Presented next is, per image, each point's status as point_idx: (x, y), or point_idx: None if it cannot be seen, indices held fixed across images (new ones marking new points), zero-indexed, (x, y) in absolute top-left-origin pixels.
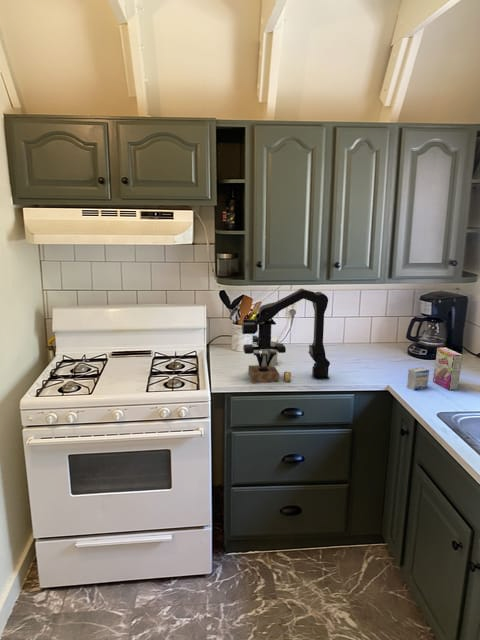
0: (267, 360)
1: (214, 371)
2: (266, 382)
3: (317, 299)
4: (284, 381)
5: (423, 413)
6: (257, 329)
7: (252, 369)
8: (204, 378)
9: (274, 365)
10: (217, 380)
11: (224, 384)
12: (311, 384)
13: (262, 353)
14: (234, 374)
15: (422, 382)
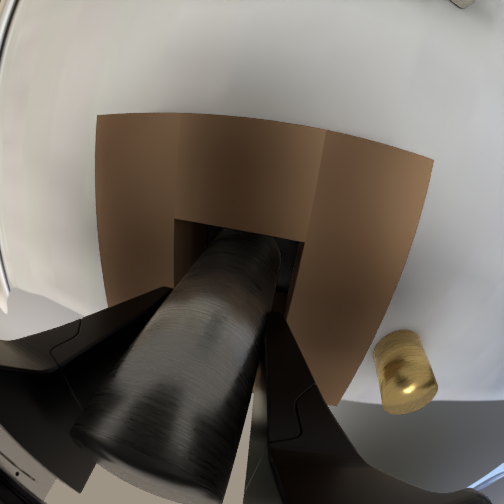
0: (261, 378)
1: (5, 81)
2: None
3: None
4: (374, 358)
5: (477, 481)
6: None
7: (115, 247)
8: None
9: (455, 2)
10: (8, 216)
11: (33, 274)
12: (464, 397)
13: (102, 451)
14: (62, 127)
15: None
